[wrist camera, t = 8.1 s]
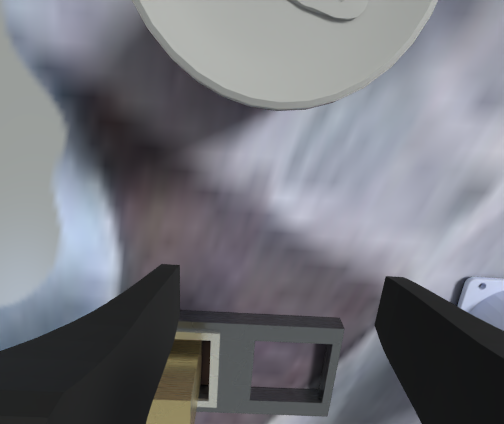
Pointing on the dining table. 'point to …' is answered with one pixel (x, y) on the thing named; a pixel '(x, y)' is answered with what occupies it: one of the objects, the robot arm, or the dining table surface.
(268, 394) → the grey double window frame
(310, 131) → the dining table surface
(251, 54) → the canned food
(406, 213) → the dining table surface
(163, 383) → the brass block
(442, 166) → the dining table surface
